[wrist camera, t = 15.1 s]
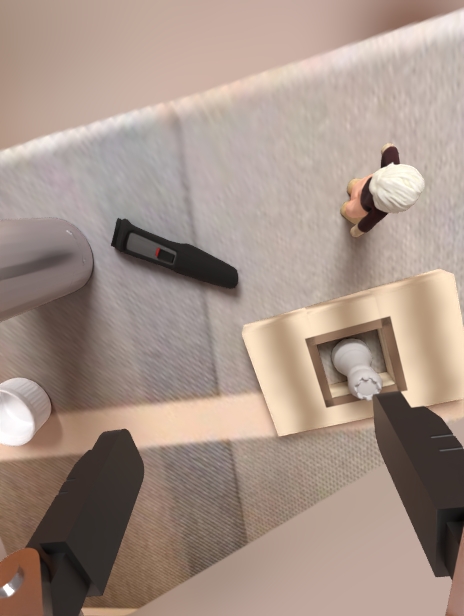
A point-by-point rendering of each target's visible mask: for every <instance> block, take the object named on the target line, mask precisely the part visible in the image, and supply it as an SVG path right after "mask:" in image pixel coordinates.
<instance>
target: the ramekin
mask: <svg viewBox="0 0 464 616" xmlns="http://www.w3.org/2000/svg"><path fill="white" fill-rule="evenodd" d="M50 413H51V403H50V399H49V397H48V395H47V394H46V392H45V391H44V390H43V389H42V388H41V387H40V386H39V385H38V384H37V383H35V382H33V381H31V380H29V379H25V378H13V379H10V380H7V381H5V382H3V383H1V384H0V443H1V444H4V445H7V446H21V445H24V444H26V443H27V442H29V441H30V440H31V439H32V438H33V436H34V435H35V433H36V432H37V431H38V430H39V429H40V427H41V426H42V425H43V424H44V423H45V422H46V421H47V419H48V418H49V416H50Z"/></svg>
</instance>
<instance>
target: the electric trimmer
mask: <svg viewBox="0 0 464 616" xmlns="http://www.w3.org/2000/svg"><path fill="white" fill-rule="evenodd" d="M111 246H113V247H115V248H116V249H117V250H118V251H120V252H123V253H126V254H129V255H132V256H135V257H138V258H140V259H143V260H146V261H149V262H152V263H155V264H158V265H161V266H164V267H166V268H169V269H171V270H173V271H175V272H177V273H180V274H183V275H185V276H188V277H192V278H195V279H198V280H201V281H205V282H208V283H211V284H214V285H218V286H221V287H225V288H229V289H231V288H235V287H236V285H237V283H238V273H237V270H236V269H235V268H234V267H232V266H230V265H229V264H227V263H225V262H223V261H221V260H219V259H217V258H215V257H213V256H212V255H210V254H208V253H206V252H204V251H202V250H200V249H198V248H196V247H194V246H192V245H190V244H180V243H176V242H172V241H169V240H167V239H164V238H162V237H159V236H157V235H154V234H152V233H149V232H147V231H144V230H142V229H140V228H138V227H135V226H134V225H132V224H131V223H130V222H129V221H128V220H127V219H123V220H121V219H119V218H118V219H117V222H116V227H115V231H114V236H113V240H112V243H111Z"/></svg>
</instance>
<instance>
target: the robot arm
mask: <svg viewBox="0 0 464 616" xmlns="http://www.w3.org/2000/svg"><path fill="white" fill-rule="evenodd" d="M92 269H93V257H92V252H91V249H90V246H89V244H88V242H87V240H86V238H85V237H84V236H83V234H82V233H81V232H80V231H79V230H78V229H77V228H76V227H75V226H73V225H72V224H70V223H68V222H67V221H64V220H61V219H58V218H30V219H5V220H0V322H2V321H5V320H7V319H10V318H12V317H14V316H17V315H19V314H22V313H24V312H26V311H29V310H31V309H34V308H36V307H38V306H41V305H43V304H46V303H48V302H50V301H53V300H56V299H58V298H60V297H63V296H65V295H68V294H70V293H72V292H75V291H77V290H79V289H80V288H82V287H83V286H84V285H85V284H86V283H87V281H88V280H89V278H90V276H91V272H92ZM372 399H373V412H374V424H375V434H376V439H377V443H378V447H379V450H380V452H381V455H382V457H383V459H384V462H385V464H386V466H387V468H388V471H389V473H390V475H391V477H392V480H393V482H394V484H395V487H396V489H397V491H398V493H399V496H400V498H401V500H402V502H403V505H404V507H405V509H406V511H407V514H408V516H409V518H410V520H411V523H412V525H413V527H414V529H415V532H416V534H417V536H418V539H419V541H420V543H421V545H422V548H423V550H424V552H425V554H426V556H427V559H428V561H429V563H430V566H431V568H432V570H433V572H434V575H435V577H445V576H450V577H451V579H452V586H451V591H450V595H449V601H448V605H447V610H446V614H445V616H464V449H463V447H462V445H461V444H460V442H459V441H458V440H457V438H456V437H455V436H453V433H452V432H451V430H450V429H449V427H448V426H447V425H446V423H445V422H444V421H443V419H442V418H441V417H439V416H438V415H437V414H435V413H434V412H432V411H431V410H429V409H428V408H426V407H425V406H419V407H412V408H411V406H410V405H409V403H408V402H407V400H406V399H405V397H404V395H403V394H402V393H401V392H400V391H392V392H385V393H378V394H373V397H372ZM143 478H144V464H143V461H142V458H141V456H140V454H139V452H138V450H137V447H136V445H135V443H134V441H133V439H132V437H131V435H130V433H129V431H128V430H127V429H121V430H114V431H107V432H103V433H102V434H101V435H100V436H99V438H98V440H97V442H96V443H95V445H94V447H93V449H92V450H88V451H87V452H86V453H85V454H84V456H83V457H82V458H81V459H80V460H79V461H78V462H77V463H76V464H75V465H74V467H73V469H72V470H71V472H70V474H69V475H68V477H67V479H66V480H67V481H66V482H64V484H63V485H62V487H61V489H60V490H59V495H57V496H56V497H55V499H54V501H53V502H52V504H51V506H50V507H49V509H48V511H47V512H46V514H45V516H44V517H43V519H42V521H41V522H40V524H39V526H38V527H37V529H36V531H35V532H34V534H33V536H32V537H31V539H30V541H29V542H28V544H27V546H26V547H25V548H23V549H20V550H18V551H15V552H13V553H12V554H10V555H9V556H7V557H6V558H4V559H3V560H2V561H1V562H0V616H84V614H83V612H82V610H81V608H82V606H83V603H84V600H85V598H86V597H91V596H103V593H104V590H105V587H106V584H107V581H108V579H109V576H110V573H111V570H112V567H113V564H114V561H115V559H116V556H117V553H118V550H119V547H120V544H121V542H122V539H123V536H124V533H125V530H126V527H127V524H128V522H129V519H130V516H131V513H132V510H133V507H134V504H135V502H136V499H137V496H138V493H139V490H140V487H141V485H142V482H143Z"/></svg>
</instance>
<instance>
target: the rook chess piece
mask: <svg viewBox="0 0 464 616" xmlns="http://www.w3.org/2000/svg"><path fill="white" fill-rule="evenodd" d="M331 358H332V363H333V364H334V366H335V367H336V369H337V370H338V371H339V372H340V373H342V374H343V375H345V376H347V379H348V387H349V391H350V392H351V393H352V395H354V396H355V397H357V398H359V399H361V400H362V399H366V400H367V401H372V397H373V394H378V393H379V392H380V391H381V390H382V386H383V382H382V378H381V377H380V375H379V374H378V373H376V372H375V371H374V370H373V368H371V367H370V366H371V363H372V355H371V352H370V349H369V348H368V346H367V345H366V343H364V342H362V341H361V340H358V339H353V338H351V339H345V340H343V341H341V342H339V343H337V345H336V346H335V347H334V348H333V351H332V354H331Z"/></svg>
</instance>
